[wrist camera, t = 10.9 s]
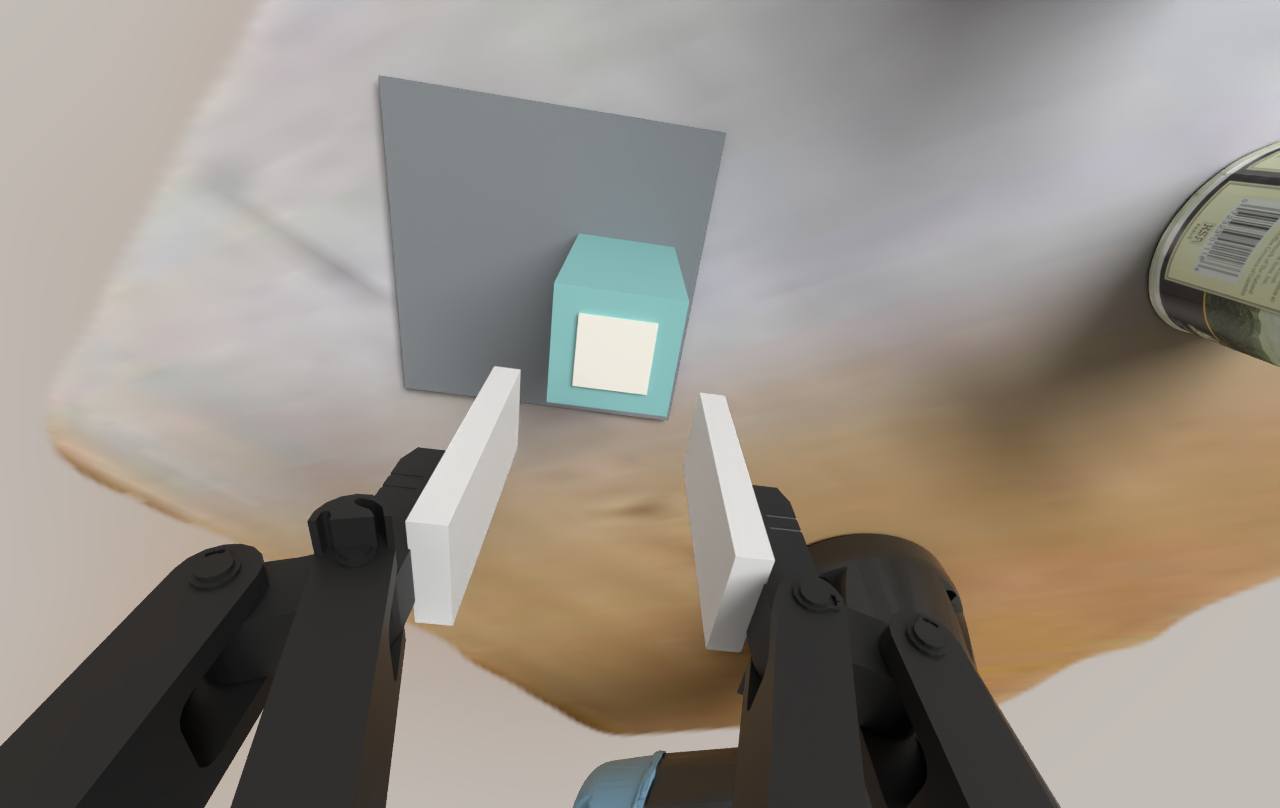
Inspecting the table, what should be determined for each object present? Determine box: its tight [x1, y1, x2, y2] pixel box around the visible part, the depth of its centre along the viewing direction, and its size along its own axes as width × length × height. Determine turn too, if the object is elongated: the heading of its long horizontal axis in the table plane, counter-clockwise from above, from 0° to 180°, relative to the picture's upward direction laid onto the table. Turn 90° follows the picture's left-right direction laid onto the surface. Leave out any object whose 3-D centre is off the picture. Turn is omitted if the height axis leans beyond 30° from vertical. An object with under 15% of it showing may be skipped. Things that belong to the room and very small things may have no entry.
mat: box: [379, 76, 726, 421], centre depth 28 cm, size 16×16×1 cm
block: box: [547, 233, 689, 417], centre depth 24 cm, size 5×5×9 cm
